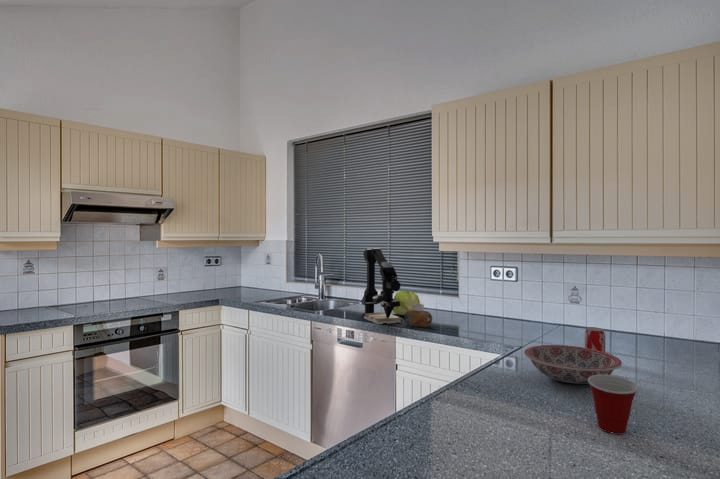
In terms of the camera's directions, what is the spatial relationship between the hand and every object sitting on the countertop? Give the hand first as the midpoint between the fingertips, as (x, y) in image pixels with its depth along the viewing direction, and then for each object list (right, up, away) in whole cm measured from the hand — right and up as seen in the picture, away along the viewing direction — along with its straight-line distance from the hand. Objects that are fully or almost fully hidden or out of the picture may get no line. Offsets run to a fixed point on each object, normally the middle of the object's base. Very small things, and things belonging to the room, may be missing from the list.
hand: (387, 317), depth 238 cm
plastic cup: (+47, -4, -131) cm, 139 cm away
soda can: (+75, -4, -71) cm, 104 cm away
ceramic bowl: (+55, -4, -94) cm, 109 cm away
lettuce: (+13, -3, +21) cm, 25 cm away
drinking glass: (+16, -3, 0) cm, 17 cm away
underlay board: (-3, -3, +6) cm, 8 cm away
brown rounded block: (+16, -3, -8) cm, 18 cm away
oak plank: (-2, -1, +4) cm, 5 cm away
